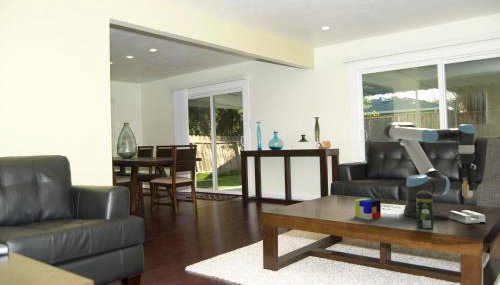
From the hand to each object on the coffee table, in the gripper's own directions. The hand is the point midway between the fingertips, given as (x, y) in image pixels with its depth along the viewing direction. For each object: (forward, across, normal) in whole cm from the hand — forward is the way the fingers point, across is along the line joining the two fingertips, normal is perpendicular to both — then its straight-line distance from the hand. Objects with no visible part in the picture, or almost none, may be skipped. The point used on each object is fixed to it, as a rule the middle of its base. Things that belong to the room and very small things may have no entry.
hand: (467, 195), depth 214 cm
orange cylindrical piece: (+1, 0, 0) cm, 1 cm away
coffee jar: (+14, -9, +30) cm, 34 cm away
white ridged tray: (+14, +1, 0) cm, 14 cm away
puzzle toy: (+14, +20, +48) cm, 54 cm away
